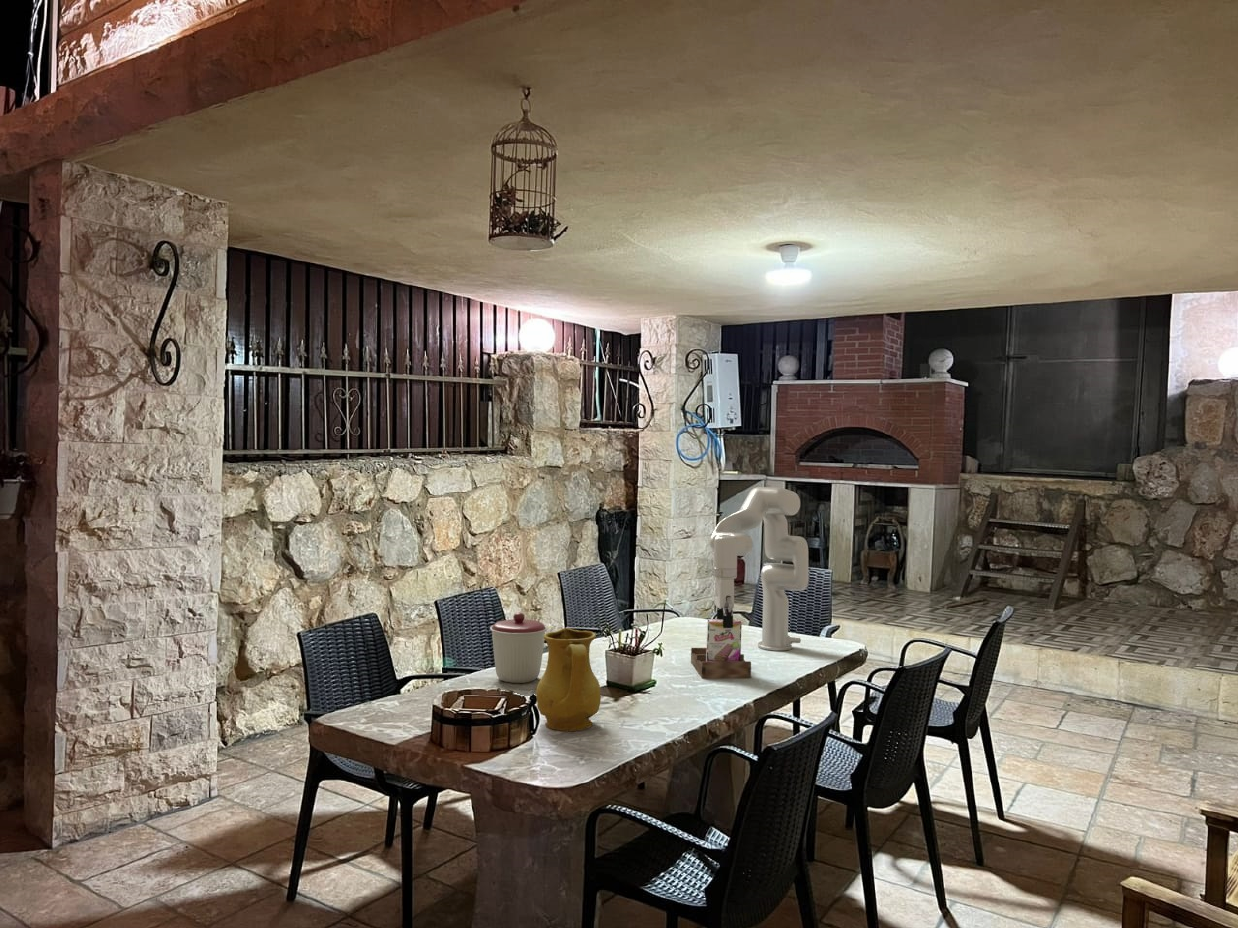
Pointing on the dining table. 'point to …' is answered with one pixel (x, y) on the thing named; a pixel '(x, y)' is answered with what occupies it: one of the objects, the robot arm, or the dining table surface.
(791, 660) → the dining table surface
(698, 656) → the rack
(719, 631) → the candy bar box
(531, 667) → the canister
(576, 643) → the pitcher
